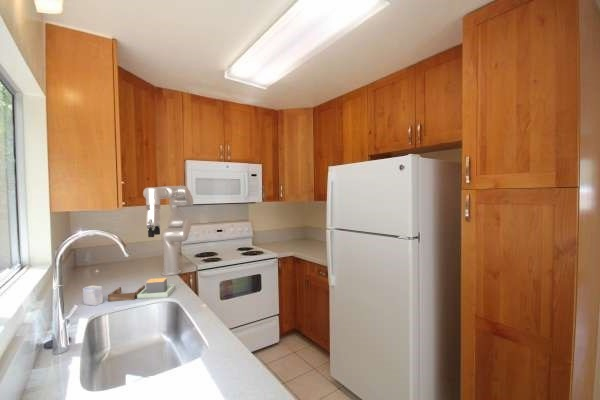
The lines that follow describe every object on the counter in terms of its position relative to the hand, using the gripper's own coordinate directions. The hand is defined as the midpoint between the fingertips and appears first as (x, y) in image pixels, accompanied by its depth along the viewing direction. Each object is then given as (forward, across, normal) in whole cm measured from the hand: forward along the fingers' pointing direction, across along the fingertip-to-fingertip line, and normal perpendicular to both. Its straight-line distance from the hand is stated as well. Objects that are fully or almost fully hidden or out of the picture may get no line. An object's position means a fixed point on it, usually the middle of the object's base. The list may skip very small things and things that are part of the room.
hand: (154, 235), depth 166 cm
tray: (+30, +16, +6) cm, 35 cm away
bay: (+30, +17, -9) cm, 36 cm away
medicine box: (+30, +24, -22) cm, 45 cm away
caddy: (+29, +16, +6) cm, 34 cm away
